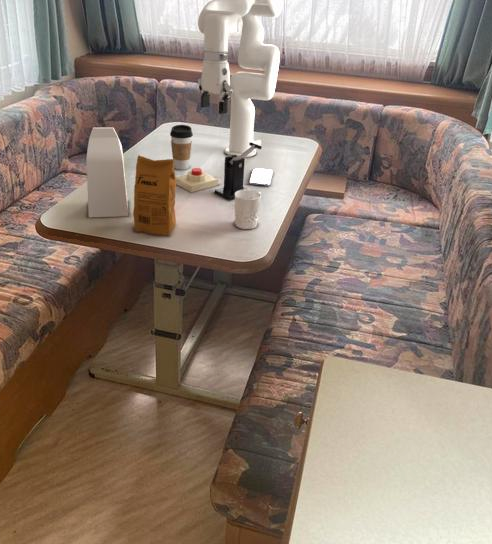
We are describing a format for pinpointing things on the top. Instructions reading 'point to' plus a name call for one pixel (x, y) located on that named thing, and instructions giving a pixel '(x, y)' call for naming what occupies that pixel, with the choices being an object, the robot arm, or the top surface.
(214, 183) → the control box
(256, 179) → the mobile phone
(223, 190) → the switch bracket
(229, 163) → the switch lever
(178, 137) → the coffee cup
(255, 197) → the white cup
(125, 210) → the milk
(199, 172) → the button
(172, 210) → the coffee package
